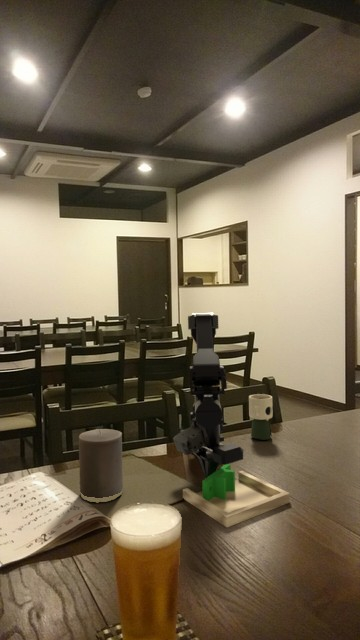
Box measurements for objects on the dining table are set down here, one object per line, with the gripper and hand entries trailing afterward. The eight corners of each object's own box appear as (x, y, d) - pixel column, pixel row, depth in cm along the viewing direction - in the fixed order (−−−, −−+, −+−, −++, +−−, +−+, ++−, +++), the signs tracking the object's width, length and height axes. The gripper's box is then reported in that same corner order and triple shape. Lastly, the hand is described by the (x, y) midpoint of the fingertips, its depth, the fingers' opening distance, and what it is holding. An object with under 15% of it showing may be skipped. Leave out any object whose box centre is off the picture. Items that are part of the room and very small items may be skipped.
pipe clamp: (217, 505, 93) (217, 484, 93) (202, 501, 95) (201, 480, 95) (241, 485, 103) (240, 466, 102) (226, 482, 105) (226, 463, 104)
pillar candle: (86, 507, 94) (85, 438, 94) (75, 490, 103) (73, 426, 102) (129, 497, 99) (128, 431, 98) (115, 481, 108) (113, 420, 107)
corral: (182, 498, 97) (182, 489, 97) (242, 478, 107) (242, 470, 107) (226, 527, 85) (226, 517, 85) (289, 502, 94) (289, 493, 94)
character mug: (267, 445, 130) (266, 401, 129) (244, 442, 133) (243, 399, 132) (277, 434, 139) (276, 393, 138) (255, 431, 142) (254, 392, 142)
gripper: (157, 412, 106) (158, 475, 107) (203, 431, 91) (205, 505, 92) (194, 404, 112) (196, 464, 113) (244, 421, 97) (245, 491, 98)
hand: (208, 480), depth 104 cm, fingers closed
